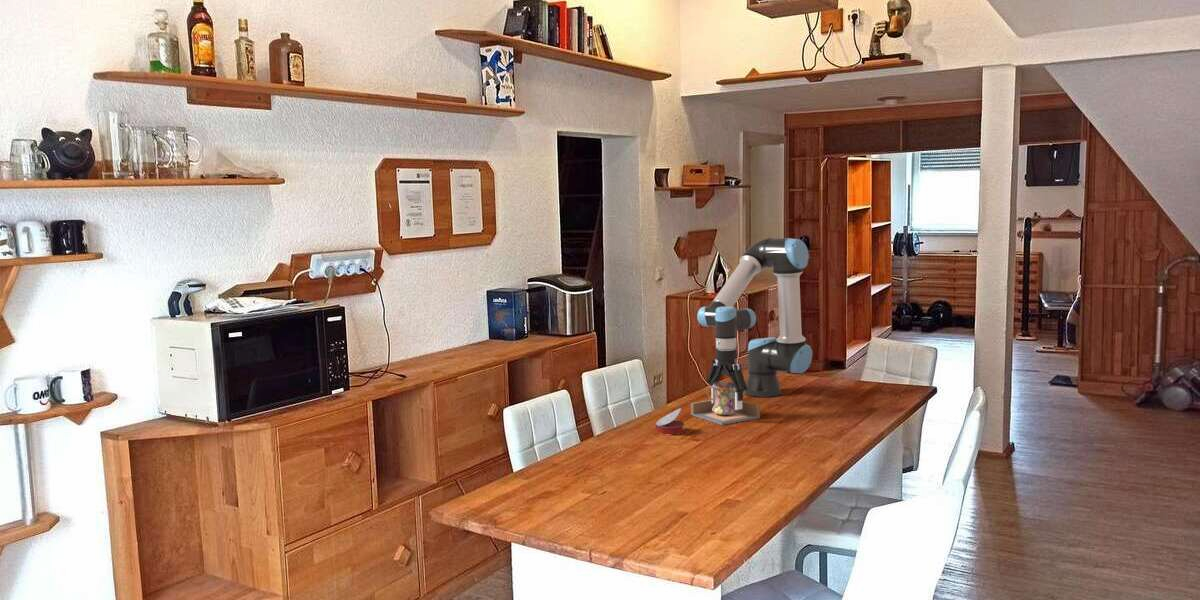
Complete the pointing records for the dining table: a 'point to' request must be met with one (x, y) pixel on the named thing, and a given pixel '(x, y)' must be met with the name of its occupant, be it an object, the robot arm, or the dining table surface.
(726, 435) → the dining table surface
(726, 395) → the mug
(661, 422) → the canned food
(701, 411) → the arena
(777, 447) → the dining table surface
